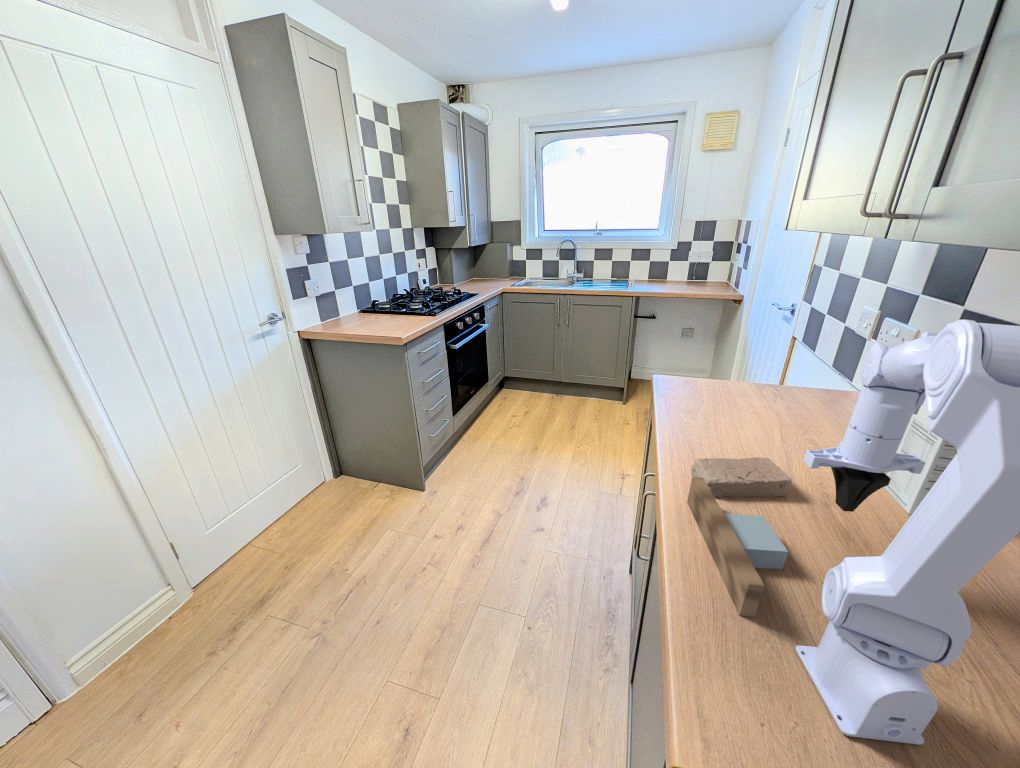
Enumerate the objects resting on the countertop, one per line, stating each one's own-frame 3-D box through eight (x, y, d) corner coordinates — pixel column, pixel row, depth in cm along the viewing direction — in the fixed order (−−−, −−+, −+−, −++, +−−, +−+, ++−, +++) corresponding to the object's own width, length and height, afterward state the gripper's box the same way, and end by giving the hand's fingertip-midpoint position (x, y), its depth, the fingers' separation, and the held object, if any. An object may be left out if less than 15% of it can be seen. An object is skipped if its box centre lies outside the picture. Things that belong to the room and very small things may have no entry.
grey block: (781, 570, 62) (788, 551, 60) (728, 566, 63) (734, 548, 61) (757, 533, 69) (762, 515, 68) (710, 530, 70) (714, 513, 68)
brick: (704, 498, 78) (709, 479, 76) (688, 473, 86) (692, 455, 84) (788, 499, 78) (795, 480, 76) (764, 474, 85) (769, 456, 83)
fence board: (754, 616, 54) (764, 585, 52) (739, 615, 55) (748, 584, 52) (697, 502, 76) (703, 477, 74) (687, 502, 77) (692, 477, 74)
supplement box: (971, 525, 70) (1017, 444, 63) (907, 515, 72) (945, 437, 66) (935, 492, 78) (972, 418, 72) (879, 484, 81) (910, 412, 74)
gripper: (908, 418, 57) (876, 493, 62) (802, 414, 59) (780, 487, 64) (953, 443, 51) (913, 524, 56) (833, 438, 52) (805, 517, 58)
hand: (844, 507), depth 60 cm, fingers closed
